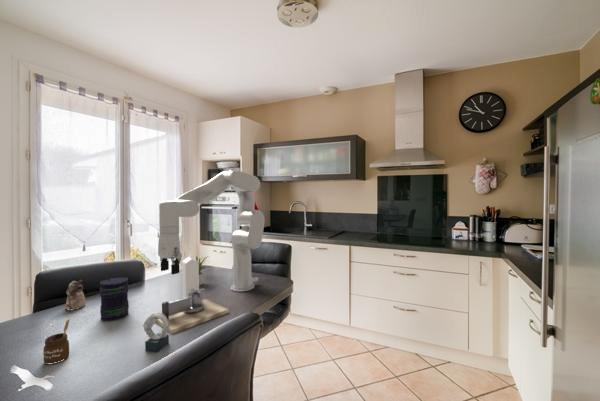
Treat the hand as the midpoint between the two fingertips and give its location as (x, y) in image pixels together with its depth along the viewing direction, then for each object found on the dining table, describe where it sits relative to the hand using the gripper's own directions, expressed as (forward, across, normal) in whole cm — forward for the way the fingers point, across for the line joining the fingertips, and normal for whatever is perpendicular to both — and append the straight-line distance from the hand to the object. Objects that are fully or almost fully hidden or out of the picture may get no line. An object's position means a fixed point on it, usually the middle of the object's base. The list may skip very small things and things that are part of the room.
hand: (170, 271), depth 116 cm
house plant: (+18, -26, +30) cm, 44 cm away
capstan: (+16, +7, +2) cm, 18 cm away
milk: (+18, -7, +14) cm, 24 cm away
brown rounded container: (+18, +3, -37) cm, 42 cm away
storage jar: (+18, -17, -14) cm, 29 cm away
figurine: (+18, -42, -21) cm, 51 cm away
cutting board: (+18, +8, +4) cm, 20 cm away
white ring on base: (+18, +21, -16) cm, 32 cm away
